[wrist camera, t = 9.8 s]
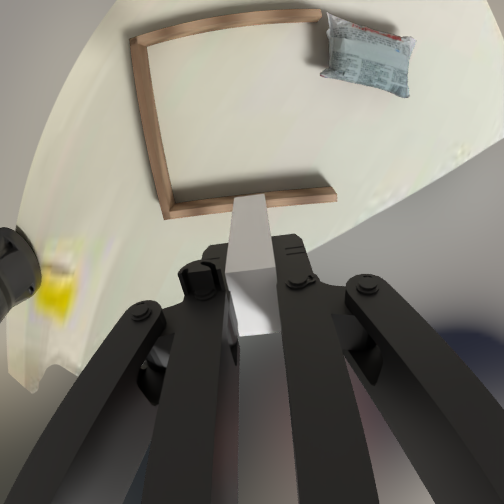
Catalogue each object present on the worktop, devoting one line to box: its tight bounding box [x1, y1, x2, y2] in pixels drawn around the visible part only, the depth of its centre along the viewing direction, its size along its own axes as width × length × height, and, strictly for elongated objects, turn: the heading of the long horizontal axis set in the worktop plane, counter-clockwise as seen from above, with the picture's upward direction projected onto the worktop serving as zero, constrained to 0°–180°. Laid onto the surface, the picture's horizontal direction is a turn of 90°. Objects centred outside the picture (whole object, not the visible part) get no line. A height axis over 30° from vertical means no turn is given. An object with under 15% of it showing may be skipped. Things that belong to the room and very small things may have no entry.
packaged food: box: [320, 13, 417, 98], centre depth 25 cm, size 9×12×5 cm
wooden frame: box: [129, 9, 337, 220], centre depth 31 cm, size 22×24×3 cm
